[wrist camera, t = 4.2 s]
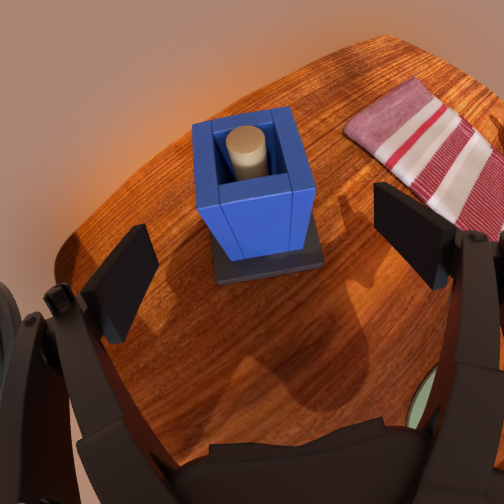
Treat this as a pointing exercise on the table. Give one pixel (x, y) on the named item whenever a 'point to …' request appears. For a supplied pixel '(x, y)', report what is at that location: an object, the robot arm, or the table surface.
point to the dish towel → (435, 156)
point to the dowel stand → (226, 271)
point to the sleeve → (254, 186)
